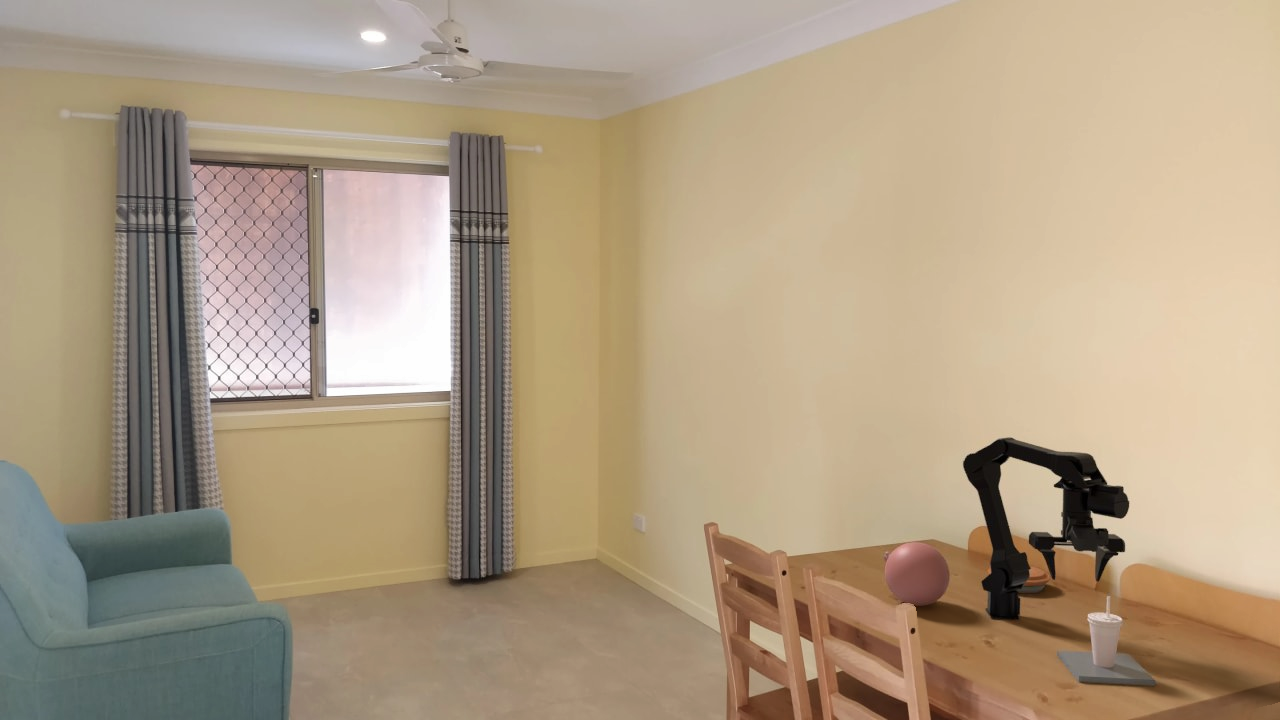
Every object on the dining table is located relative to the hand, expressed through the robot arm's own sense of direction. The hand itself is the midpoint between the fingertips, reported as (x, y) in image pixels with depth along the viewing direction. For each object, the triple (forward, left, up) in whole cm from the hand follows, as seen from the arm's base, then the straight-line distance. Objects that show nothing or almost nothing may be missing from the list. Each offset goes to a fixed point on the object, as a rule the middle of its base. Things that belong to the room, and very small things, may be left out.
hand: (1075, 580), depth 208 cm
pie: (-2, +39, -13) cm, 41 cm away
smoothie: (0, -19, -12) cm, 22 cm away
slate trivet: (0, -19, -13) cm, 23 cm away
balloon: (-32, +22, -13) cm, 41 cm away
